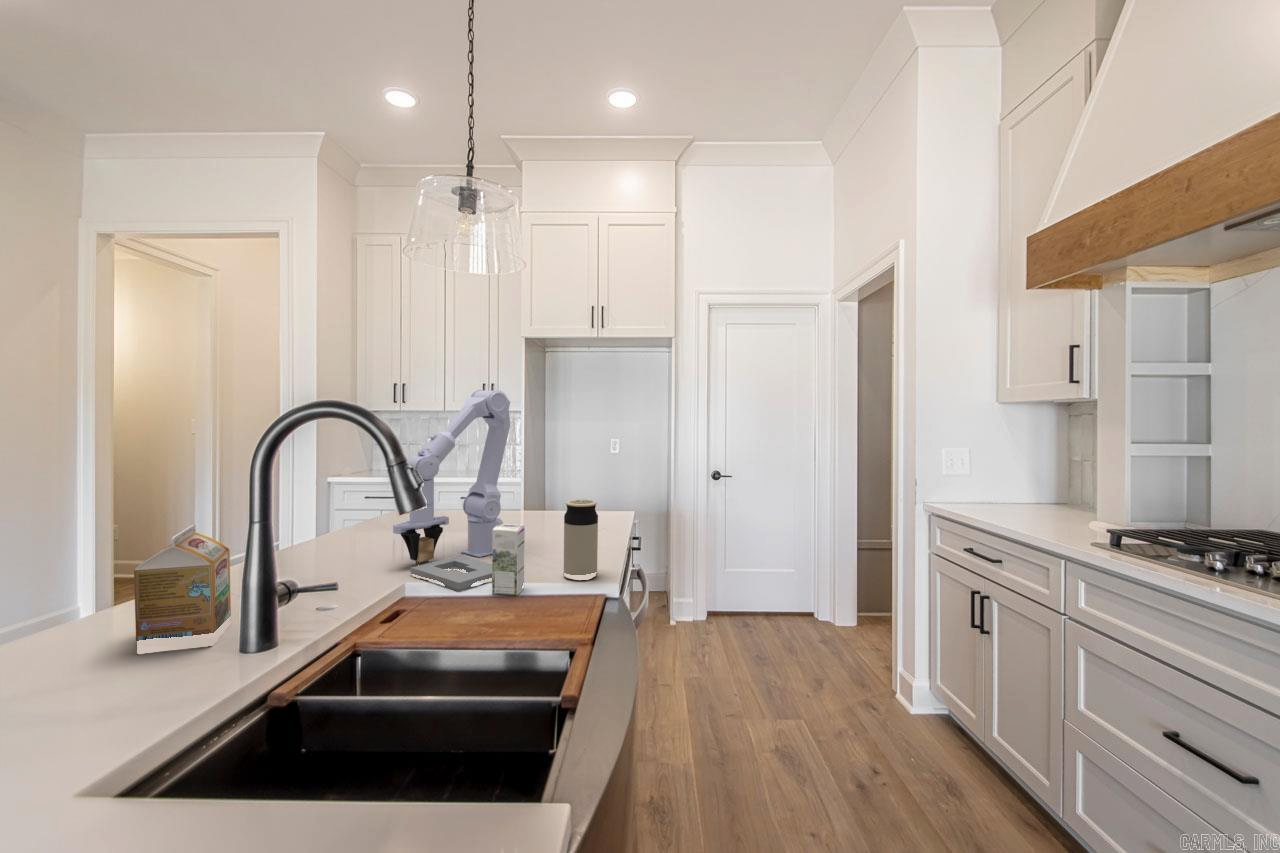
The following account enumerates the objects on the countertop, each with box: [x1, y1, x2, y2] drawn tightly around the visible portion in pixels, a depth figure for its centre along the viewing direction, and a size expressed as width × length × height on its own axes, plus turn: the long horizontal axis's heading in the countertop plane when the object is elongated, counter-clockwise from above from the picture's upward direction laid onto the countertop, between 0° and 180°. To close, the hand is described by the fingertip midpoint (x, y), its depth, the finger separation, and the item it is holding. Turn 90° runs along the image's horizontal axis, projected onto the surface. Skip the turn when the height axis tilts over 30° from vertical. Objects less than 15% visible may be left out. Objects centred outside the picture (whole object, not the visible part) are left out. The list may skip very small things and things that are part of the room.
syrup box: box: [491, 523, 526, 596], centre depth 132 cm, size 6×6×14 cm
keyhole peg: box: [410, 536, 435, 566], centre depth 151 cm, size 4×4×6 cm
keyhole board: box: [410, 554, 492, 593], centre depth 142 cm, size 14×18×2 cm
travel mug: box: [563, 498, 599, 575], centre depth 143 cm, size 8×8×18 cm
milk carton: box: [133, 524, 232, 642], centre depth 104 cm, size 11×11×19 cm
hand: (422, 557), depth 151 cm, fingers closed on keyhole peg, 4 cm apart
